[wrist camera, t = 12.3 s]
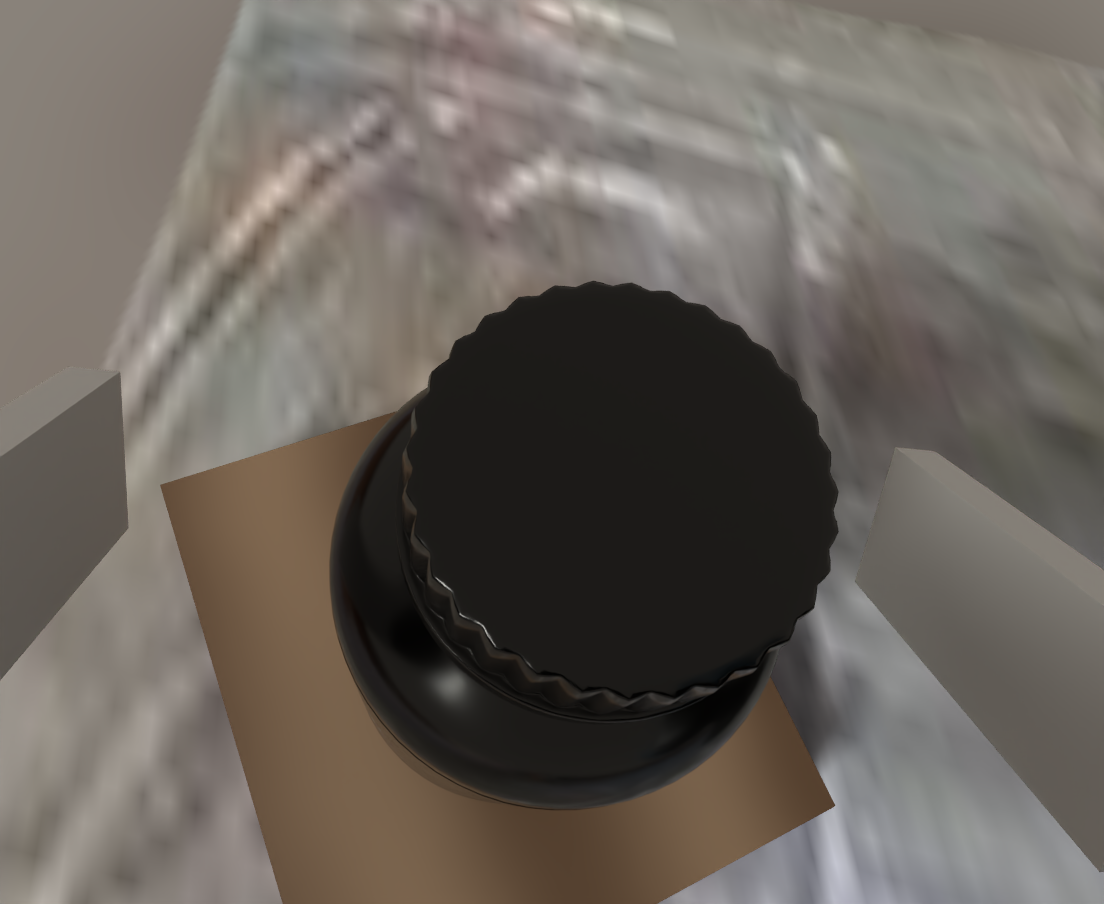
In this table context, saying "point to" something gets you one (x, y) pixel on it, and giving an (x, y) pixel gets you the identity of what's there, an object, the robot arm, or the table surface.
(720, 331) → the supplement bottle
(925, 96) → the table surface
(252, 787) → the brown flat block
